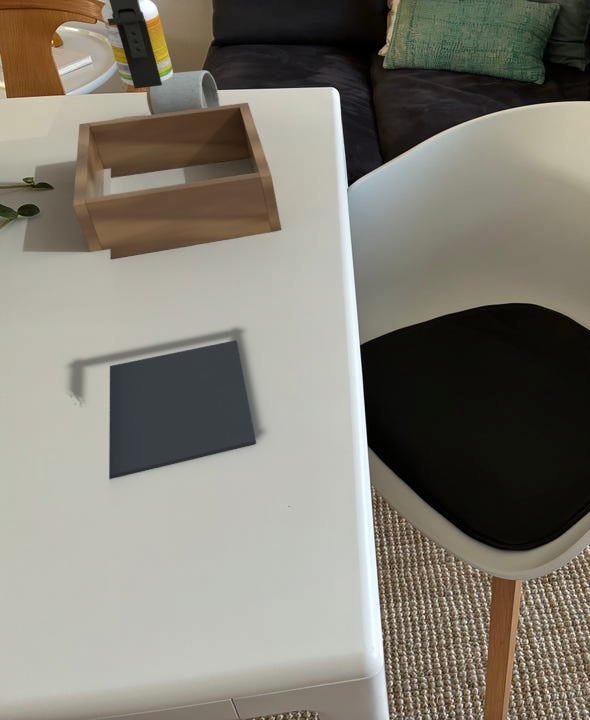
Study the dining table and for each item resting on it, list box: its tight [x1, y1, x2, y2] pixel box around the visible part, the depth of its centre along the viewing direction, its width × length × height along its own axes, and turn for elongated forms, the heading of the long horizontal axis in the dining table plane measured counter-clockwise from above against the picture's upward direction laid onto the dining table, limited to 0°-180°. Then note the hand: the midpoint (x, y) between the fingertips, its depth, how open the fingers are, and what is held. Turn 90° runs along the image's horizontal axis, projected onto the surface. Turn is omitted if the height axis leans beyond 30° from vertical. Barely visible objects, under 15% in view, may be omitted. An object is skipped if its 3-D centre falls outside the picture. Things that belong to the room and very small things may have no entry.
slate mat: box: [108, 339, 257, 479], centre depth 68 cm, size 14×14×1 cm
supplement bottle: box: [101, 0, 174, 86], centre depth 81 cm, size 5×5×10 cm
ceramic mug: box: [146, 69, 221, 115], centre depth 108 cm, size 11×8×8 cm
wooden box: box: [72, 102, 282, 260], centre depth 93 cm, size 21×20×7 cm
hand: (147, 74), depth 84 cm, fingers closed on supplement bottle, 5 cm apart
